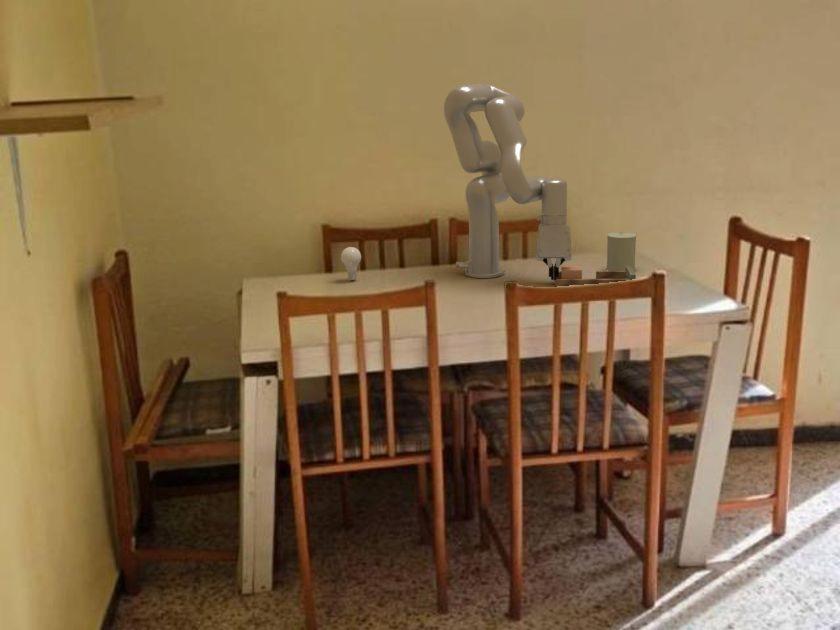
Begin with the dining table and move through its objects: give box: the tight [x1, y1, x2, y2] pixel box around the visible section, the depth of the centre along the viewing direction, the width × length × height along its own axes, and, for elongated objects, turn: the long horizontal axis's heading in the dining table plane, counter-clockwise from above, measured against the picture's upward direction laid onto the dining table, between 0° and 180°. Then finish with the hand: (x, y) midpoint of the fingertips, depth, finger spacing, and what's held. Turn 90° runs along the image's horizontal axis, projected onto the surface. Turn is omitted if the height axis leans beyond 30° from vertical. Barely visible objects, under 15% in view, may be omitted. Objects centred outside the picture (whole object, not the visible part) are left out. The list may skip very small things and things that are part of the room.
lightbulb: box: [340, 246, 362, 282], centre depth 284 cm, size 6×6×11 cm
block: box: [560, 265, 583, 279], centre depth 273 cm, size 6×6×5 cm
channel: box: [554, 266, 637, 288], centre depth 273 cm, size 24×12×4 cm, turn 84°
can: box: [605, 231, 637, 272], centre depth 288 cm, size 9×9×12 cm
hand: (553, 279), depth 274 cm, fingers closed
